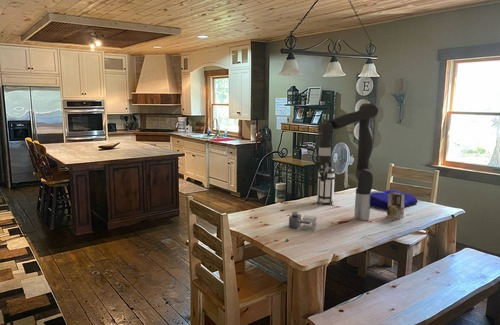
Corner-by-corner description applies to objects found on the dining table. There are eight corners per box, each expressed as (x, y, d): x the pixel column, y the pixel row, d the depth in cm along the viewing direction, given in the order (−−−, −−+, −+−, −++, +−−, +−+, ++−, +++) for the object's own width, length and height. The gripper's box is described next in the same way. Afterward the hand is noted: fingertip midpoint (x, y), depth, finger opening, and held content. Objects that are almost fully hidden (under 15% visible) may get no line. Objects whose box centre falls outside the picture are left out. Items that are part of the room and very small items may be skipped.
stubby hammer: (311, 227, 230) (312, 213, 229) (308, 231, 223) (308, 216, 222) (293, 224, 235) (293, 210, 234) (288, 228, 228) (289, 213, 226)
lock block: (316, 228, 228) (316, 216, 226) (314, 231, 223) (314, 219, 222) (304, 227, 231) (305, 215, 229) (302, 229, 226) (302, 217, 225)
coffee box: (403, 217, 252) (405, 193, 250) (400, 219, 248) (401, 195, 245) (390, 214, 259) (392, 191, 256) (386, 216, 254) (388, 193, 251)
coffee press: (310, 201, 288) (311, 163, 283) (327, 199, 294) (329, 162, 290) (323, 207, 273) (324, 167, 268) (341, 205, 279) (343, 165, 274)
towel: (418, 204, 286) (419, 193, 284) (393, 212, 264) (393, 200, 262) (386, 197, 306) (387, 186, 304) (360, 204, 284) (361, 193, 282)
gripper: (328, 156, 226) (327, 182, 229) (333, 153, 239) (332, 178, 241) (315, 155, 229) (315, 181, 232) (321, 152, 242) (320, 177, 244)
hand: (324, 179), depth 237 cm, fingers open, 8 cm apart
